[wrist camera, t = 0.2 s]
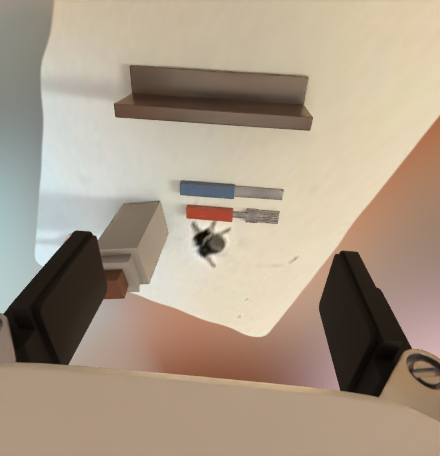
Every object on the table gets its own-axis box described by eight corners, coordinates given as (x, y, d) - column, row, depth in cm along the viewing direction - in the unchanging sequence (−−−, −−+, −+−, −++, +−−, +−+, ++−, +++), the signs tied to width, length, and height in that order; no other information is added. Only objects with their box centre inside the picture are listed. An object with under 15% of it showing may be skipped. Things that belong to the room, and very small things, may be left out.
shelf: (131, 65, 41) (109, 72, 35) (307, 76, 41) (319, 85, 34) (135, 104, 44) (115, 117, 37) (300, 115, 43) (310, 130, 37)
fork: (187, 203, 53) (186, 206, 52) (279, 210, 52) (280, 213, 51) (187, 216, 54) (186, 219, 53) (277, 223, 54) (277, 226, 53)
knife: (181, 180, 50) (179, 183, 49) (283, 188, 50) (284, 191, 49) (181, 192, 51) (180, 195, 51) (281, 200, 51) (282, 202, 50)
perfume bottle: (133, 235, 57) (94, 308, 42) (123, 203, 54) (75, 271, 39) (168, 233, 56) (140, 307, 41) (160, 201, 53) (126, 269, 38)
